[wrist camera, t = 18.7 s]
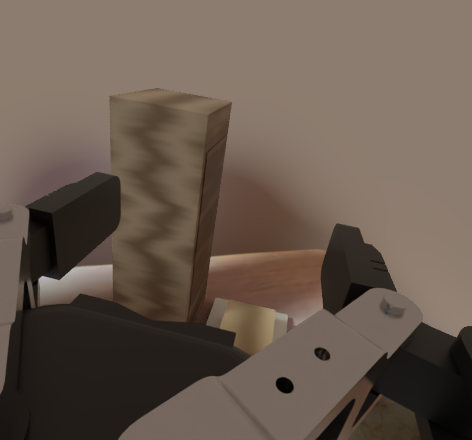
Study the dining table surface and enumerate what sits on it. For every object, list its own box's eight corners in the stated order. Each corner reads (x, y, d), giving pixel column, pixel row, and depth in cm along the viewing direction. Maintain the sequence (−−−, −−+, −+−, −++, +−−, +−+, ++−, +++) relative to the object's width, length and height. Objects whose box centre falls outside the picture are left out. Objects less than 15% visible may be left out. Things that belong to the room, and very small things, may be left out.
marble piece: (342, 341, 53) (350, 322, 51) (439, 415, 43) (453, 395, 42) (272, 399, 42) (279, 376, 40) (380, 513, 33) (396, 491, 31)
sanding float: (180, 469, 32) (183, 444, 30) (225, 319, 51) (228, 298, 49) (251, 490, 31) (259, 466, 29) (270, 330, 50) (275, 309, 48)
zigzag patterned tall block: (114, 334, 47) (109, 96, 32) (149, 284, 57) (157, 88, 43) (183, 352, 46) (209, 114, 31) (205, 298, 56) (233, 102, 42)
